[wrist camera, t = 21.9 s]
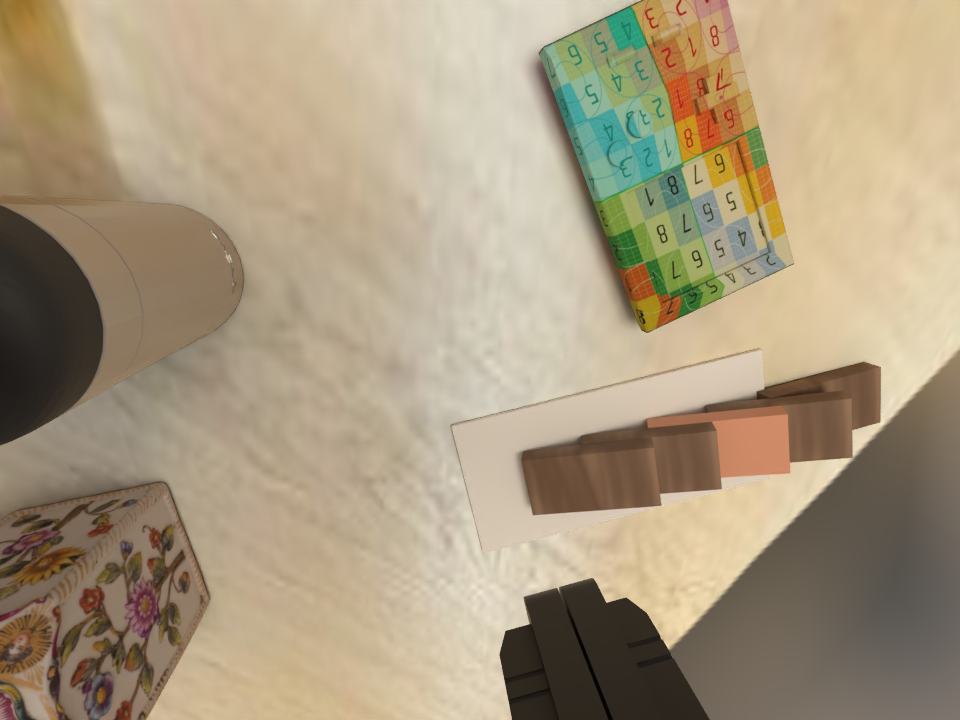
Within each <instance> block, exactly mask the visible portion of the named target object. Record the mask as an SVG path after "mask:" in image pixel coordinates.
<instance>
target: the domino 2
mask: <svg viewBox="0 0 960 720" xmlns="http://www.w3.org/2000/svg"><path fill="white" fill-rule="evenodd" d="M644 438H652V442H653V446H654V452H655V459H656V467H657V474H658V482H659V489H660V494H666V493H679V492H692V491H706V490H719V489H722V484H721V473H720V462H719V450H718V439H717V430H716V428H715V427H714V425H713V423H712V422H704V423H695V424H685V425H675V426H666V427H656V428H647V429H637V430H627V431H618V432H608V433H599V434H589V435H582V436H581V445H586V444H596V443H605V442H615V441H625V440H634V439H644Z"/></svg>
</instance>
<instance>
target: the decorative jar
mask: <svg viewBox="0 0 960 720" xmlns="http://www.w3.org/2000/svg"><path fill="white" fill-rule="evenodd" d="M209 600H210V599H209V596H208V593H207V591H206V588H205V586H204V582H203V580H202V576H201V573H200V571H199V568H198V565H197V562H196V560H195V558H194V555H193V552H192V550H191V547H190V544H189V542H188V539H187V537H186V534H185V532H184V529H183V527H182V524H181V522H180V519H179V517H178V514H177V511H176V508H175V505H174V503H173V500H172V497H171V495H170V492H169V489H168V487H167V485H166V484H164V483H154V484H150V485H144V486H140V487H135V488H130V489H125V490H121V491H115V492H110V493H106V494H101V495H95V496H90V497H84V498H80V499H75V500H69V501H64V502H60V503H55V504H51V505H46V506H40V507H35V508H29V509H25V510H19V511H15V512H13V513H11V514H10V515H9V516H7V517H6V518H4V519H2V520H1V521H0V720H146V719H147V717H148V716H149V714H150V712H151V710H152V708H153V707H154V705H155V703H156V701H157V699H158V697H159V696H160V694H161V692H162V690H163V689H164V687H165V685H166V683H167V681H168V679H169V678H170V676H171V674H172V673H173V671H174V669H175V667H176V665H177V664H178V662H179V660H180V658H181V656H182V654H183V653H184V651H185V649H186V647H187V645H188V643H189V642H190V640H191V637H192V636H193V634H194V632H195V630H196V628H197V626H198V624H199V622H200V620H201V618H202V616H203V614H204V612H205V610H206V608H207V606H208V604H209Z"/></svg>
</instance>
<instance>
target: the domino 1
mask: <svg viewBox="0 0 960 720" xmlns="http://www.w3.org/2000/svg"><path fill="white" fill-rule="evenodd" d="M521 462H522V467H523V472H524V476H525V481H526V486H527V490H528V495H529V500H530V504H531V509H532V514H533V515H545V514H558V513H572V512H586V511H599V510H613V509H627V508H640V507H654V506H662V504H661V497H660V489H659V482H658V474H657V467H656V459H655V452H654V446H653V442H652V438H644V439H634V440H625V441H615V442H605V443H596V444H586V445H577V446H567V447H557V448H548V449H538V450H528V451H523V455H522V459H521Z"/></svg>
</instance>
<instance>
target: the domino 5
mask: <svg viewBox="0 0 960 720" xmlns="http://www.w3.org/2000/svg"><path fill="white" fill-rule="evenodd" d="M833 391H844V392H845V393H846V394H847V395H848V396H849V397H850V398H852V430H854V429H858V428H861V427H865V426H868V425H872V424H875V423H879V422H880V403H881V367H879V366H876V365H872V364H869V363H865V362H862V363H859V364H855V365H851V366H848V367H844V368H840V369H837V370H833V371H829V372H826V373H822V374H818V375H815V376H811V377H807V378H804V379H800V380H796V381H793V382H789V383H785V384H782V385H778V386H774V387H771V388H767V389H763V390H760V391H756V392H757V400H759V399H768V398H777V397H787V396H796V395H805V394H815V393H824V392H833Z"/></svg>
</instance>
